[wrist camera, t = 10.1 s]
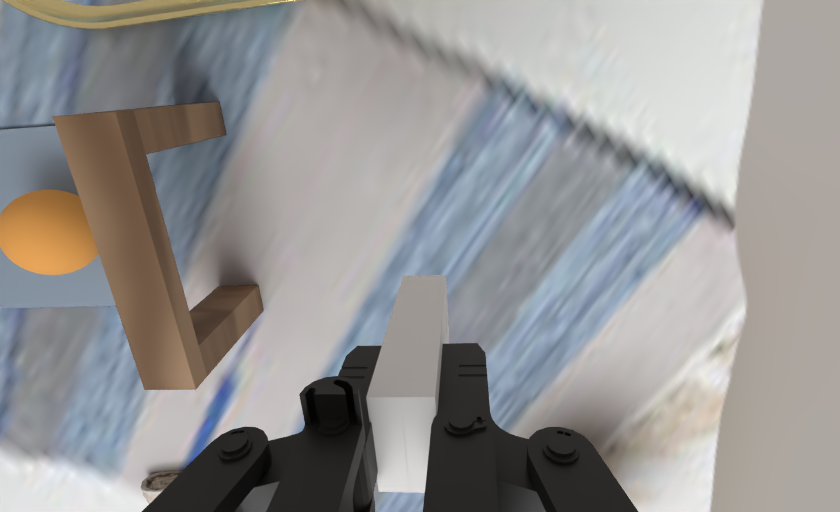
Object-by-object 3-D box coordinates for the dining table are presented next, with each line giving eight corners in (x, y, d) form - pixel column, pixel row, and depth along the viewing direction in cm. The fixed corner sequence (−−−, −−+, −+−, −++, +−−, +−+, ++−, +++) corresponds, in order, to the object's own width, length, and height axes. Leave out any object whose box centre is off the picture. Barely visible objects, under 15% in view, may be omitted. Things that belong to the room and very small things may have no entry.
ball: (41, 295, 27) (132, 262, 32) (6, 204, 25) (108, 183, 30) (-1, 281, 30) (89, 253, 34) (-36, 198, 28) (64, 179, 32)
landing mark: (-34, 308, 36) (-36, 309, 36) (-113, 137, 31) (-117, 137, 31) (121, 304, 35) (119, 305, 34) (61, 125, 30) (58, 125, 30)
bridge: (224, 311, 34) (144, 389, 26) (173, 104, 29) (52, 116, 20) (263, 310, 34) (195, 389, 25) (219, 101, 29) (115, 112, 20)
